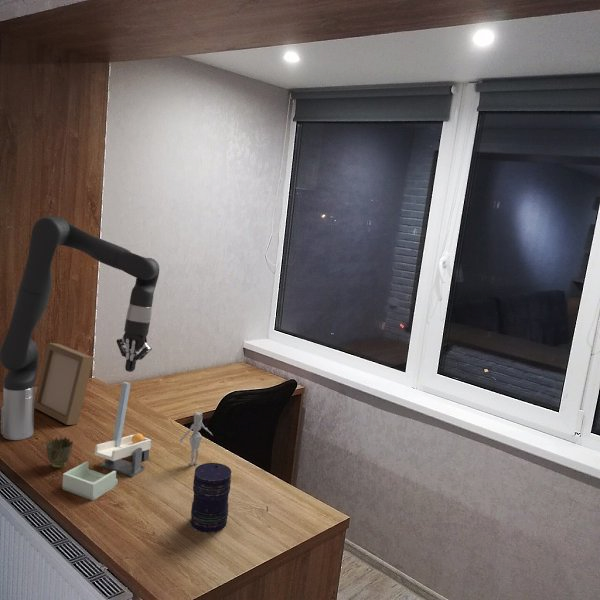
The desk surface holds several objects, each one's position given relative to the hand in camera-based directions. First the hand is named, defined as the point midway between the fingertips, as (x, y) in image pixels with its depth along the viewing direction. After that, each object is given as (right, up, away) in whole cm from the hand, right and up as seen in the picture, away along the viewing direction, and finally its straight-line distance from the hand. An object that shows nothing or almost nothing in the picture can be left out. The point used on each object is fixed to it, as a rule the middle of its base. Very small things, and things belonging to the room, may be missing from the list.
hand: (129, 371), depth 183 cm
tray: (-5, -31, -20) cm, 37 cm away
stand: (+1, -29, -4) cm, 29 cm away
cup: (-18, -28, -11) cm, 35 cm away
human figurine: (+21, -30, -1) cm, 37 cm away
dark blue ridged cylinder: (+31, -37, -31) cm, 57 cm away
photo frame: (-32, -20, +29) cm, 47 cm away
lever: (+1, -23, -8) cm, 25 cm away
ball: (+3, -21, -3) cm, 22 cm away
